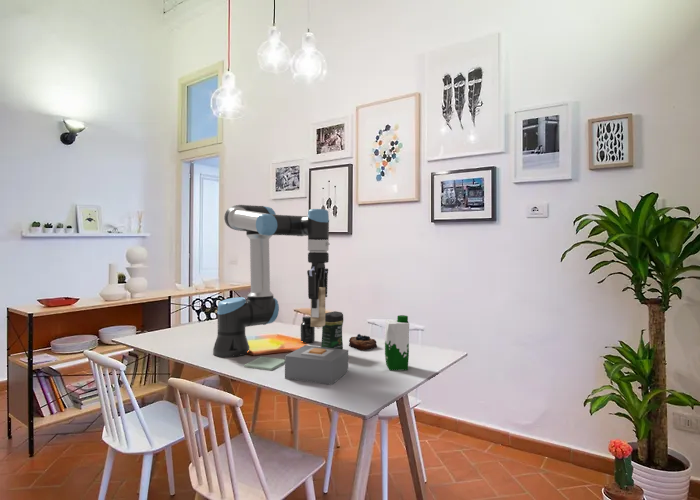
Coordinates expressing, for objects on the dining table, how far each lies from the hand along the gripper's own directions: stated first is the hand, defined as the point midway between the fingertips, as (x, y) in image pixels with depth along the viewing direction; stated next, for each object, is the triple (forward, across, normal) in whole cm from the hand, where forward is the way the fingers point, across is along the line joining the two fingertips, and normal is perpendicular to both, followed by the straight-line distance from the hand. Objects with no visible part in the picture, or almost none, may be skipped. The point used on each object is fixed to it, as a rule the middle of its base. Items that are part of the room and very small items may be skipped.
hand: (318, 315), depth 148 cm
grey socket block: (+22, 0, 0) cm, 22 cm away
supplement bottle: (+22, +43, +25) cm, 54 cm away
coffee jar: (+22, +26, +5) cm, 34 cm away
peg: (+4, 0, 0) cm, 4 cm away
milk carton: (+22, +19, -25) cm, 38 cm away
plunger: (+18, 0, 0) cm, 18 cm away
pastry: (+22, +44, -3) cm, 49 cm away
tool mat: (+21, +4, +24) cm, 33 cm away
